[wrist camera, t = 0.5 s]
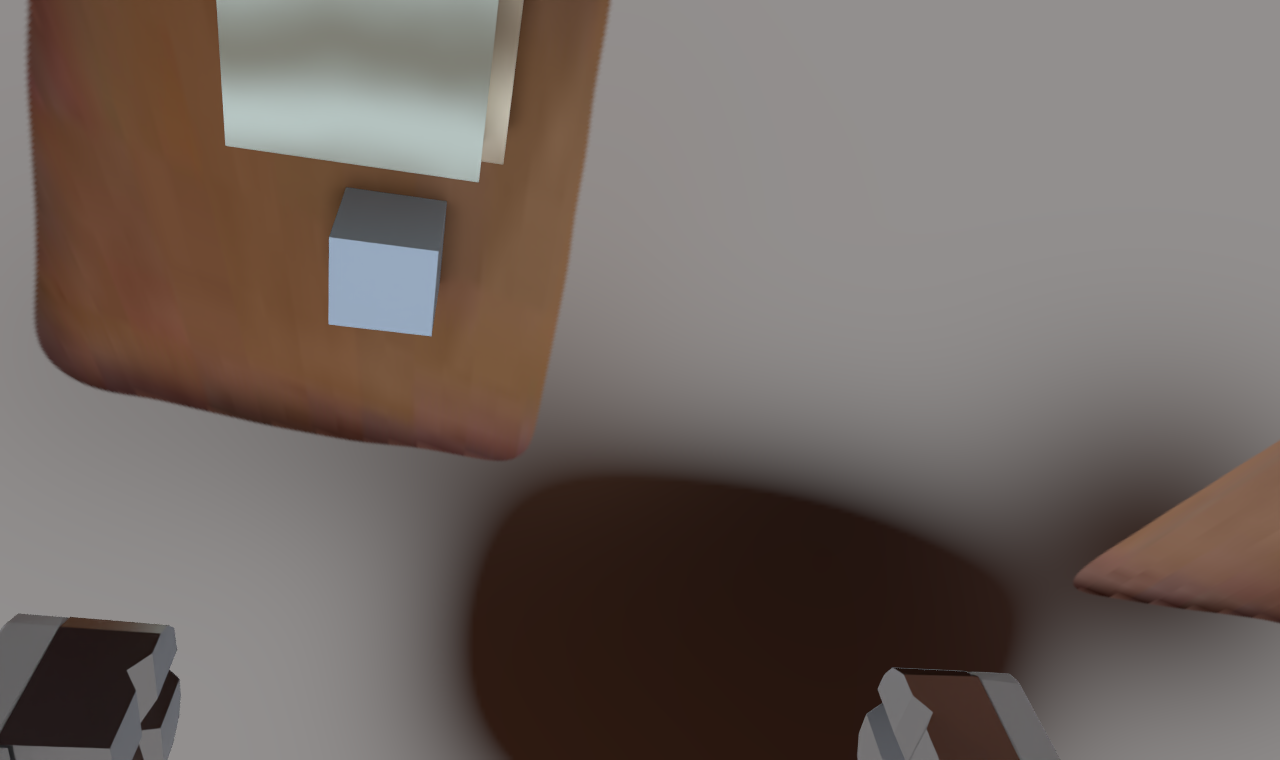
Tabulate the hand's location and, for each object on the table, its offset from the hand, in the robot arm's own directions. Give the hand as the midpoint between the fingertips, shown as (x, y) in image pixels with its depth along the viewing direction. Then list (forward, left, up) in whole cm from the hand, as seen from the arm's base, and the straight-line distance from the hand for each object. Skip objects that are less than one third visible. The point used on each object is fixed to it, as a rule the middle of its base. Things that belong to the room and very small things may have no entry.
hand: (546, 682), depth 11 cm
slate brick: (+18, -5, -39) cm, 43 cm away
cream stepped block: (+5, -6, -39) cm, 39 cm away
